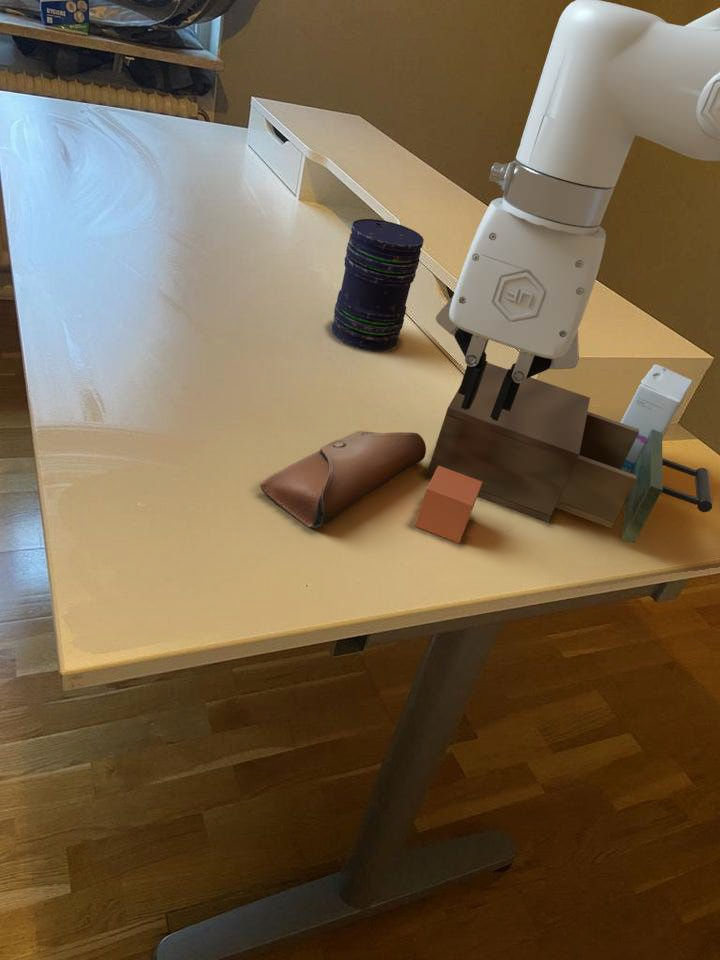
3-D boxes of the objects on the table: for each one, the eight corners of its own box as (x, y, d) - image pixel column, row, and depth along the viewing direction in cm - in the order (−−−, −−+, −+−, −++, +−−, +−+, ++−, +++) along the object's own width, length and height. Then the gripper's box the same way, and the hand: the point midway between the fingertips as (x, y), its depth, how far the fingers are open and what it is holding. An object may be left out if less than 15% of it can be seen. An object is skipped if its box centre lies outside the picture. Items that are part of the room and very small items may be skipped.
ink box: (636, 488, 86) (682, 401, 80) (596, 469, 88) (637, 382, 81) (651, 460, 93) (695, 377, 86) (613, 443, 94) (653, 360, 88)
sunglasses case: (361, 427, 83) (398, 396, 79) (397, 478, 83) (436, 449, 79) (252, 486, 70) (289, 453, 66) (295, 547, 70) (334, 518, 65)
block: (469, 518, 74) (482, 481, 72) (459, 543, 71) (473, 505, 68) (426, 501, 75) (438, 465, 73) (414, 526, 71) (426, 488, 69)
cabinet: (563, 459, 88) (590, 397, 83) (548, 522, 77) (579, 454, 72) (455, 421, 90) (476, 358, 86) (425, 476, 79) (447, 407, 74)
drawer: (685, 499, 85) (713, 450, 81) (689, 563, 74) (722, 511, 70) (533, 444, 88) (553, 395, 84) (516, 499, 77) (538, 445, 73)
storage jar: (410, 350, 104) (438, 247, 96) (349, 353, 100) (373, 244, 91) (377, 319, 111) (401, 220, 103) (319, 320, 106) (338, 216, 98)
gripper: (443, 174, 53) (385, 395, 64) (661, 240, 51) (564, 459, 61) (465, 160, 60) (409, 364, 70) (661, 219, 57) (573, 421, 67)
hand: (482, 407), depth 65 cm, fingers closed
